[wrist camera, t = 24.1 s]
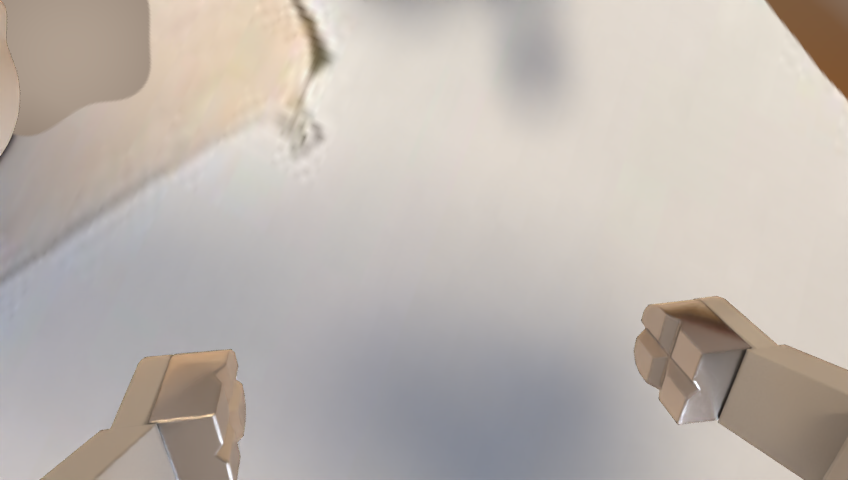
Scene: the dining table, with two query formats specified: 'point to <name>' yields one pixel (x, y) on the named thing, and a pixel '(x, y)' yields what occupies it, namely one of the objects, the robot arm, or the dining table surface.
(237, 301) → the dining table surface
